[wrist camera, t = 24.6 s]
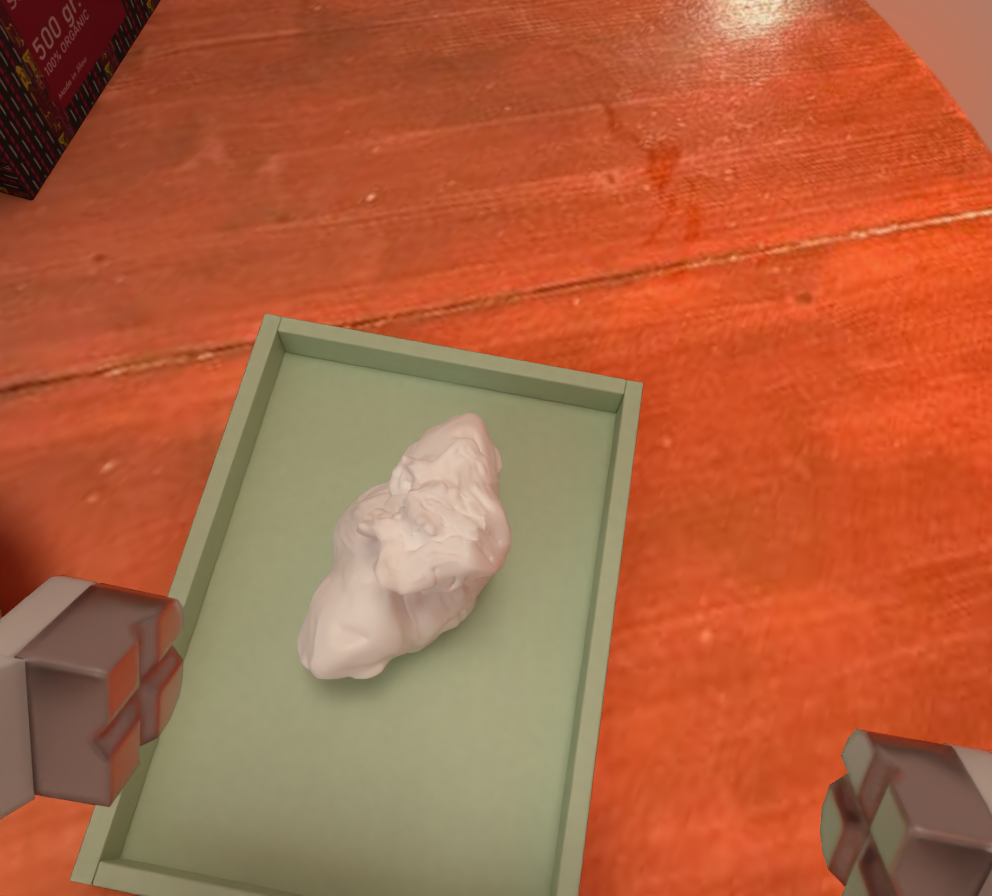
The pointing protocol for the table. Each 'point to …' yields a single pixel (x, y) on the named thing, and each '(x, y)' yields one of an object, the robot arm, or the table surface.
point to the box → (55, 77)
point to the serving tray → (406, 678)
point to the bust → (409, 555)
